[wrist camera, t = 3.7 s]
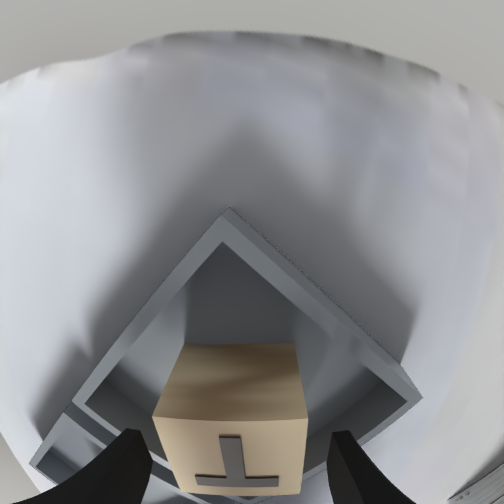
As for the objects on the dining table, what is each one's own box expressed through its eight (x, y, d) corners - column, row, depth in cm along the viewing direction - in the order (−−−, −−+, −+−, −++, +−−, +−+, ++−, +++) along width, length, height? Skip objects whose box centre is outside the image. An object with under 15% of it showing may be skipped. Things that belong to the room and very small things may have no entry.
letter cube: (293, 342, 13) (308, 420, 8) (291, 419, 14) (300, 495, 9) (183, 344, 13) (151, 418, 8) (198, 420, 14) (180, 493, 9)
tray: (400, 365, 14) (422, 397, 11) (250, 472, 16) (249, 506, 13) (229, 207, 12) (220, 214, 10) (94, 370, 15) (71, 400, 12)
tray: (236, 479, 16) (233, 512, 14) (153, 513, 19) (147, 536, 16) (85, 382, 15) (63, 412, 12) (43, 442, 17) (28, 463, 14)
